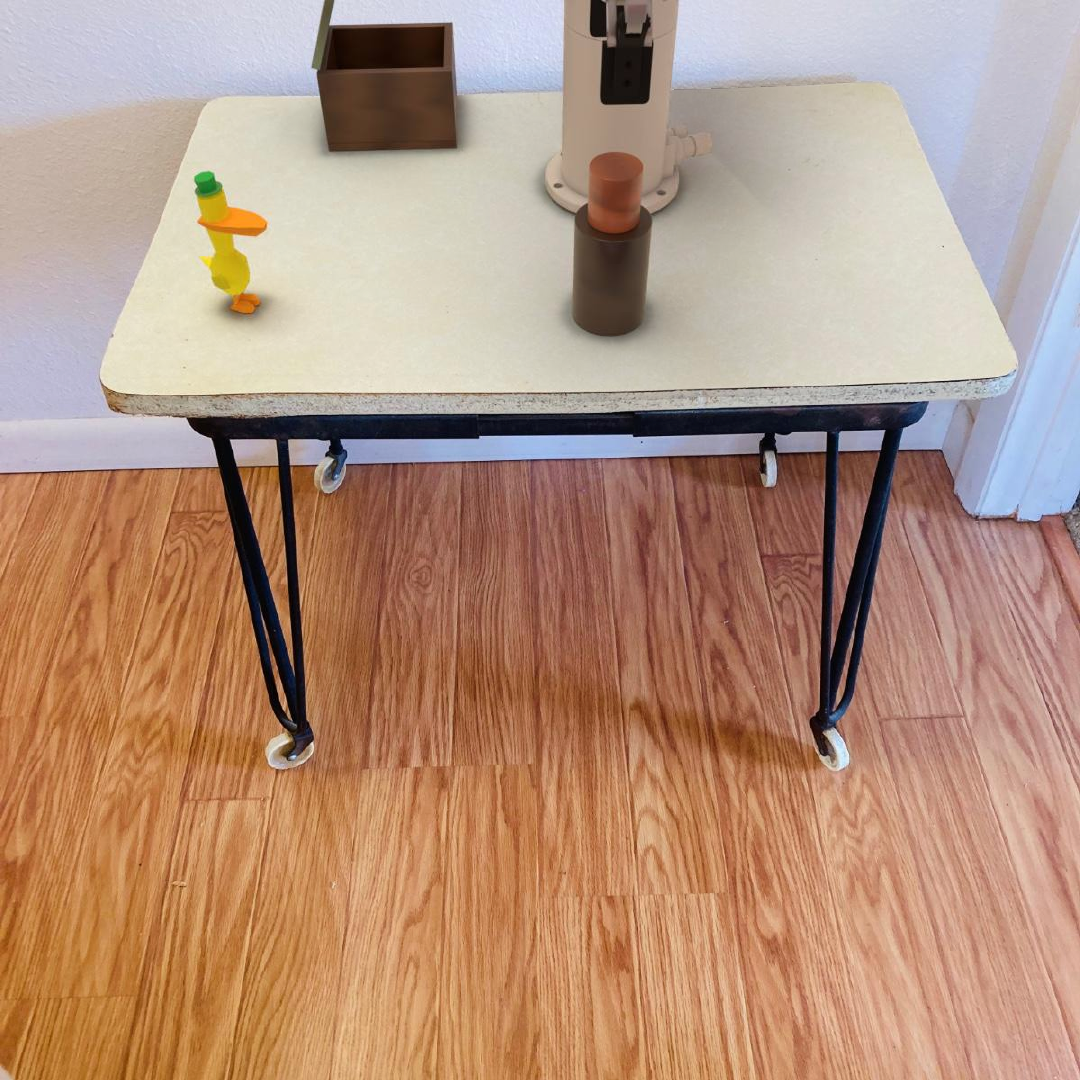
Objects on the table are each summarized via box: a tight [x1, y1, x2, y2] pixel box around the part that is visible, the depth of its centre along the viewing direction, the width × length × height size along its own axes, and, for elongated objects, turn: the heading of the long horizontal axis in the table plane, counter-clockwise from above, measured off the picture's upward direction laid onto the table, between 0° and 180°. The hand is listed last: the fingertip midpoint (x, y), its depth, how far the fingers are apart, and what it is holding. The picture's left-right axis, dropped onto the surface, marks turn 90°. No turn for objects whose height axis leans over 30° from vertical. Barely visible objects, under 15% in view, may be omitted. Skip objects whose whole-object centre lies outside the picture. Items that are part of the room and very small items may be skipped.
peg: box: [587, 152, 643, 234], centre depth 82 cm, size 4×4×4 cm
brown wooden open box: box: [316, 22, 458, 152], centre depth 107 cm, size 13×10×8 cm
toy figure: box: [193, 170, 268, 314], centre depth 86 cm, size 7×4×12 cm, turn 75°
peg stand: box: [571, 203, 653, 337], centre depth 87 cm, size 6×6×9 cm
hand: (617, 67), depth 74 cm, fingers open, 9 cm apart
